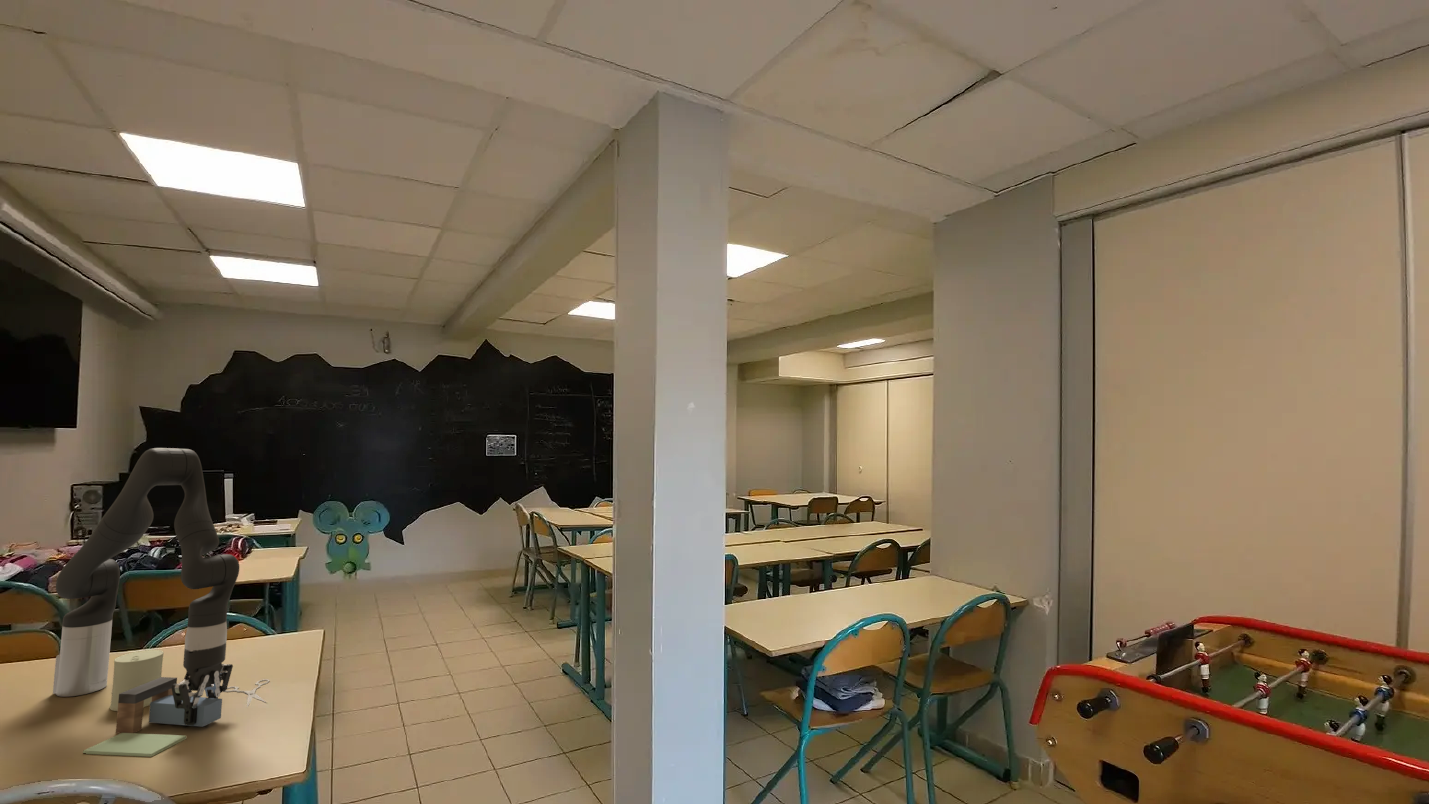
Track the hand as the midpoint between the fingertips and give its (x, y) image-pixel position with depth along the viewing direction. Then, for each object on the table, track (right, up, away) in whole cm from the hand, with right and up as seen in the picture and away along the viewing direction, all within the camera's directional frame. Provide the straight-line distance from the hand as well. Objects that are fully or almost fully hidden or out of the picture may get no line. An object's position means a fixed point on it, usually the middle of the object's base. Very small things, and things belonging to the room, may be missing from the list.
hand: (200, 719), depth 141 cm
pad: (-6, -1, -10) cm, 11 cm away
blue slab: (-4, -1, 0) cm, 4 cm away
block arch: (-13, -1, +1) cm, 13 cm away
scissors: (-2, -4, +18) cm, 19 cm away
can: (-26, -2, +11) cm, 28 cm away
